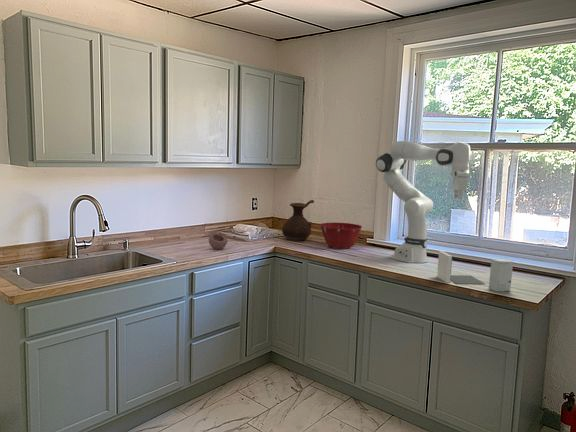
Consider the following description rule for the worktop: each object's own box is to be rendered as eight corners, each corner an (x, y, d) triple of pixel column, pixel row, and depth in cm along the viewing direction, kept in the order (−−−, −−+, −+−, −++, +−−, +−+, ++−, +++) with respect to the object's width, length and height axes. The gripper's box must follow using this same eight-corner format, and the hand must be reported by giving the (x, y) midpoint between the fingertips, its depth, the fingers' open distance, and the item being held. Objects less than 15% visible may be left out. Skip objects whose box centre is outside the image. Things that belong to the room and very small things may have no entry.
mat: (456, 284, 233) (456, 283, 233) (443, 275, 249) (443, 275, 248) (485, 284, 234) (485, 283, 234) (471, 276, 249) (471, 275, 249)
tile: (446, 282, 234) (448, 256, 233) (437, 276, 246) (438, 251, 244) (450, 283, 235) (452, 256, 233) (441, 276, 246) (443, 251, 245)
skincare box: (495, 291, 221) (498, 261, 219) (487, 288, 227) (490, 258, 225) (511, 291, 223) (514, 261, 221) (503, 287, 229) (505, 258, 227)
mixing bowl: (340, 241, 338) (341, 221, 336) (369, 248, 316) (370, 226, 314) (311, 245, 321) (312, 223, 319) (339, 253, 299) (340, 229, 297)
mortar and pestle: (217, 251, 292) (217, 234, 290) (204, 249, 299) (204, 231, 297) (231, 249, 301) (231, 231, 300) (218, 246, 308) (218, 229, 307)
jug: (296, 243, 327) (297, 201, 323) (276, 238, 342) (277, 198, 338) (317, 240, 341) (318, 200, 337) (297, 236, 357) (298, 197, 353)
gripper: (450, 171, 259) (448, 196, 260) (457, 173, 239) (455, 199, 240) (461, 172, 258) (459, 197, 259) (470, 173, 238) (468, 200, 239)
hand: (457, 198), depth 250 cm, fingers open, 8 cm apart
